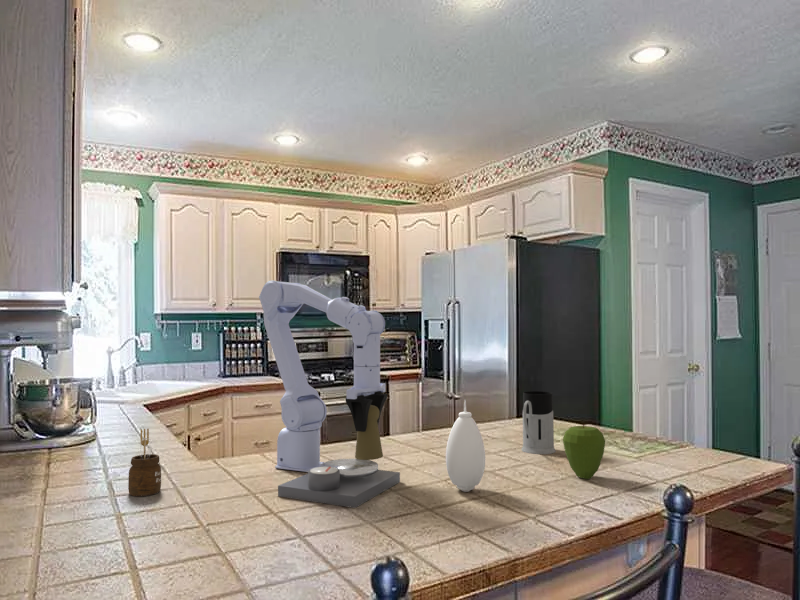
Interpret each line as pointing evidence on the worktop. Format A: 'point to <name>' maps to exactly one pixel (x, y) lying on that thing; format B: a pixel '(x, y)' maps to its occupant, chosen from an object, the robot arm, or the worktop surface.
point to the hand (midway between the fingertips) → (366, 429)
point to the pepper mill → (369, 438)
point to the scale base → (337, 486)
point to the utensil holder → (144, 472)
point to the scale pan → (353, 467)
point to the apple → (584, 450)
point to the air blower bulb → (465, 453)
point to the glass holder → (538, 423)
